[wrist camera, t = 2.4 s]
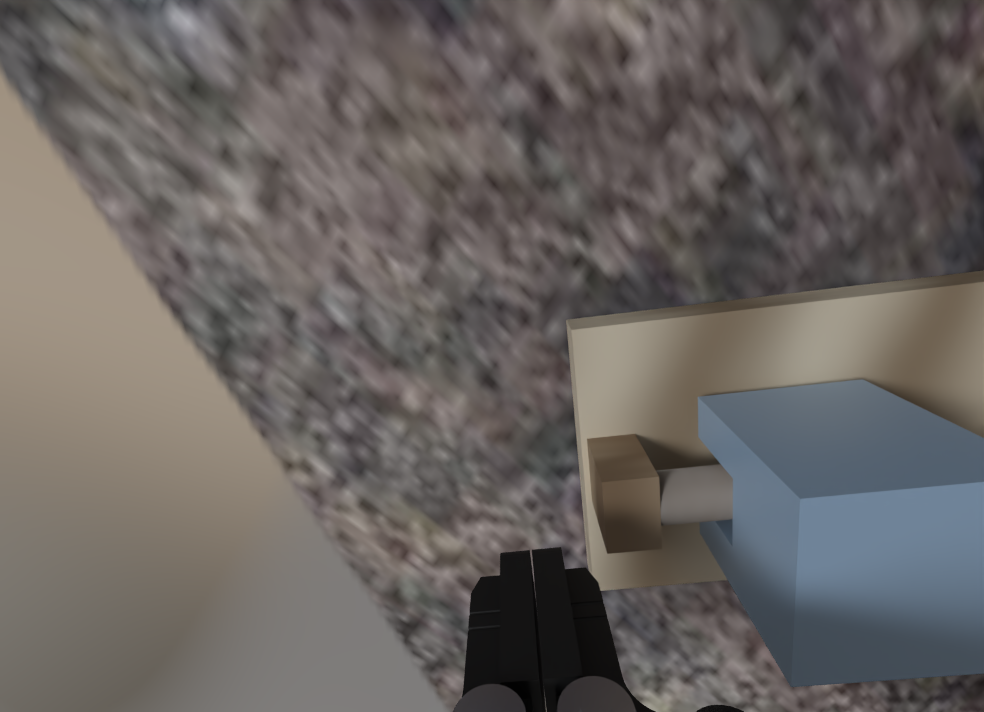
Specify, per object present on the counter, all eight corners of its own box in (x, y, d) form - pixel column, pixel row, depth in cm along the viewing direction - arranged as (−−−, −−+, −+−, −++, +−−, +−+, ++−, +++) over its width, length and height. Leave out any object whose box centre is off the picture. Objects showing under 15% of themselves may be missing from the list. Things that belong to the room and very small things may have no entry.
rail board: (1279, 235, 16) (1855, 257, 9) (1197, 510, 19) (1591, 684, 12) (565, 319, 17) (603, 392, 11) (587, 563, 20) (628, 745, 13)
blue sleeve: (862, 379, 16) (1059, 474, 10) (851, 519, 17) (1018, 671, 11) (697, 396, 16) (800, 499, 10) (699, 532, 17) (790, 687, 12)
